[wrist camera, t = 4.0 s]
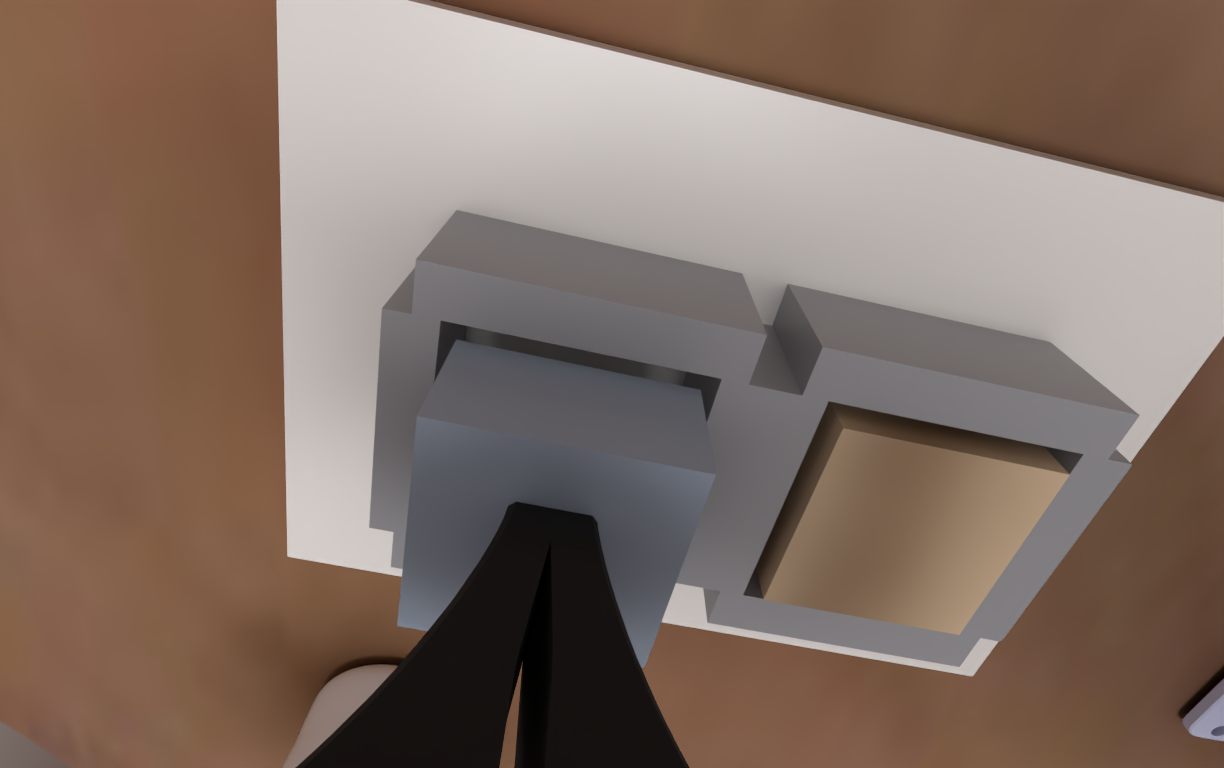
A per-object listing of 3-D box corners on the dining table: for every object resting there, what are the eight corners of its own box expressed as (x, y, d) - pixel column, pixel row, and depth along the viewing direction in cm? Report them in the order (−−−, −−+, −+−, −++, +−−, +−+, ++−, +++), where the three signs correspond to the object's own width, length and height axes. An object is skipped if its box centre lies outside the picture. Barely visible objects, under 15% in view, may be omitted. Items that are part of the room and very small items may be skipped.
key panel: (1247, 203, 15) (1468, 276, 11) (951, 635, 22) (1023, 776, 18) (311, -30, 13) (174, -42, 9) (310, 520, 20) (231, 648, 16)
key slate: (700, 390, 12) (715, 474, 10) (642, 566, 14) (644, 667, 12) (456, 339, 12) (417, 416, 10) (433, 528, 14) (397, 626, 12)
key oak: (1004, 404, 15) (1070, 474, 13) (916, 552, 17) (959, 635, 15) (810, 363, 14) (843, 428, 12) (745, 520, 16) (763, 599, 14)
